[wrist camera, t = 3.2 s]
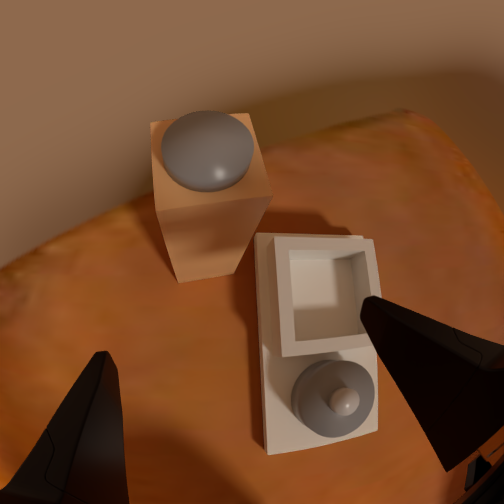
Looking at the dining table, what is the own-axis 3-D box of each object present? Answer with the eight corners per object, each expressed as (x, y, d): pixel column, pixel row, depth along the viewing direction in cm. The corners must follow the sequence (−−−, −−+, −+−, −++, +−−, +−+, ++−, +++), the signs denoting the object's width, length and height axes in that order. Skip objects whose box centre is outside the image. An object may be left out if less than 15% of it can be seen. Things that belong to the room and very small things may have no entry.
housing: (370, 427, 21) (400, 438, 17) (264, 450, 19) (279, 472, 15) (356, 240, 26) (383, 221, 22) (253, 237, 24) (265, 214, 20)
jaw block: (233, 273, 23) (278, 185, 10) (178, 283, 22) (152, 200, 9) (222, 222, 24) (251, 101, 12) (170, 230, 23) (148, 110, 10)
